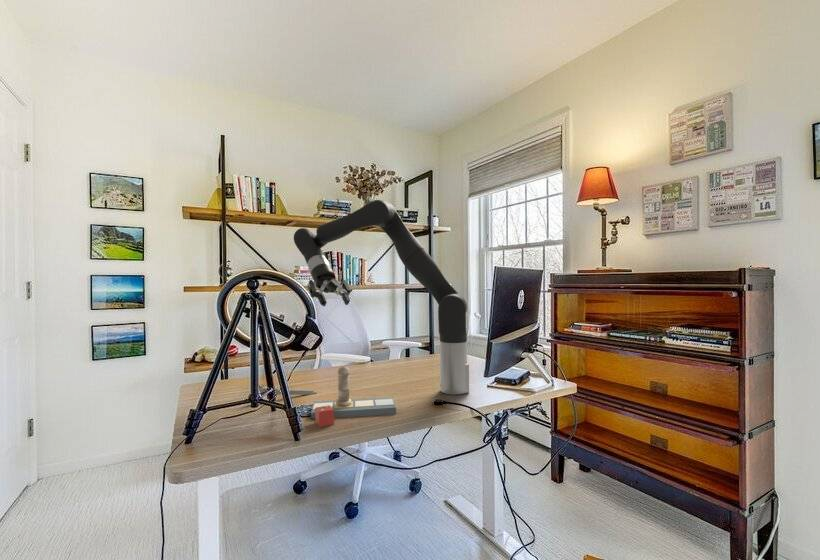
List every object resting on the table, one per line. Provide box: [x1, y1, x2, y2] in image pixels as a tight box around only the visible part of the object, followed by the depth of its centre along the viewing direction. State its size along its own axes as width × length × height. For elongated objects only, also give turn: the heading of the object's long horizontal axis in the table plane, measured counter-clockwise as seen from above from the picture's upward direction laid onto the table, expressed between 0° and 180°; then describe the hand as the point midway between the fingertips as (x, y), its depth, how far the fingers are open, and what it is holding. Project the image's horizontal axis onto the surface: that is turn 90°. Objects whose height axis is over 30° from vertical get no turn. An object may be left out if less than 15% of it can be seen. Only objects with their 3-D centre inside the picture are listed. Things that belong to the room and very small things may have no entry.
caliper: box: [258, 383, 318, 398], centre depth 132 cm, size 20×1×6 cm, turn 124°
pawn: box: [336, 365, 352, 407], centre depth 118 cm, size 4×4×11 cm
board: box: [310, 396, 397, 419], centre depth 119 cm, size 24×10×2 cm, turn 98°
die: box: [314, 405, 335, 428], centre depth 109 cm, size 4×4×4 cm
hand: (336, 303), depth 135 cm, fingers open, 8 cm apart
